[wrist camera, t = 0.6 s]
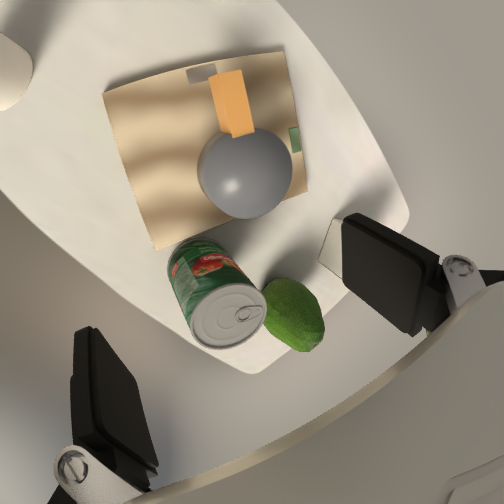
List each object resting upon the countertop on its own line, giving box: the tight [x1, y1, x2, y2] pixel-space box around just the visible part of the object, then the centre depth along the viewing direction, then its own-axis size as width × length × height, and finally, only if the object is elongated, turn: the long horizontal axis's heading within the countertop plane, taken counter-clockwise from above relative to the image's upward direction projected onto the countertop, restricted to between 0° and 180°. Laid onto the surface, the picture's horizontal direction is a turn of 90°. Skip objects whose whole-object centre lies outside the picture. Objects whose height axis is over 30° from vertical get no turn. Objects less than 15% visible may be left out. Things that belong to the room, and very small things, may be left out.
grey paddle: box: [197, 70, 293, 219], centre depth 24 cm, size 13×8×3 cm, turn 13°
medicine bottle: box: [318, 219, 343, 279], centre depth 41 cm, size 7×7×12 cm
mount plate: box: [102, 51, 308, 251], centre depth 28 cm, size 18×20×6 cm
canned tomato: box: [167, 238, 267, 350], centre depth 32 cm, size 8×8×11 cm
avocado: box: [262, 278, 325, 352], centre depth 39 cm, size 8×8×12 cm
